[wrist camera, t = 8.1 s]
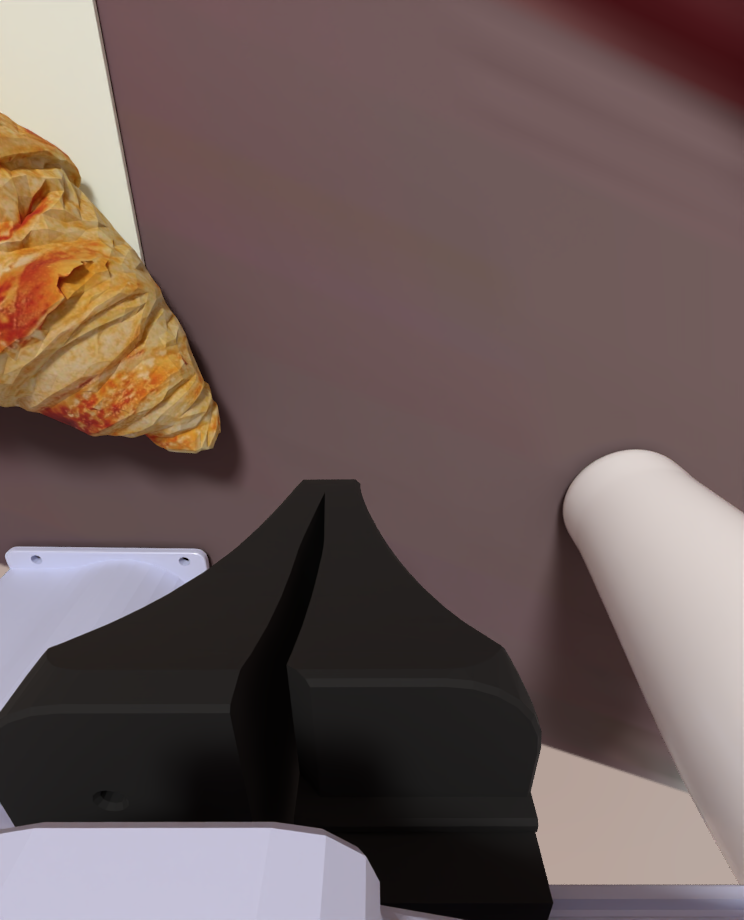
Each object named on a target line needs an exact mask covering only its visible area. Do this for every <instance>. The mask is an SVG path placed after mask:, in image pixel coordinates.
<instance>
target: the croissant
mask: <svg viewBox="0 0 744 920" xmlns="http://www.w3.org/2000/svg"><path fill="white" fill-rule="evenodd" d="M80 185H81V176H80V173H79V171H78V168H77V167H76V166H75V164H74V163H73V162H72V160H71V159H70V157H69V156H68V155H67V154H65V153H64V152H63V151H62V150H60V149H59V148H58V147H57V146H55V145H54V144H52V143H50V142H49V141H47V140H45V139H44V138H42V137H40V136H39V135H37V134H35V133H34V132H32V131H30V130H29V129H26V128H24V127H22V126H20V125H18V124H17V123H15V122H14V121H13V120H11V119H10V118H9V117H8V116H6V115H4V114H3V113H1V112H0V406H2V407H12V406H18V407H21V408H23V409H25V410H27V411H31V412H37V413H41V414H43V415H46V416H48V417H51V418H53V419H55V420H58V421H60V422H62V423H65V424H67V425H70V426H72V427H74V428H76V429H78V430H80V431H82V432H84V433H86V434H88V435H91V436H102V435H111V436H125V437H129V438H134V437H137V436H140V435H144V434H145V435H146V436H147V437H148V438H149V439H151V440H152V441H153V442H154V443H155V444H156V445H158V446H160V447H162V448H164V449H166V450H168V451H170V452H182V453H198V452H199V451H202V450H207V449H212V448H213V447H214V444H215V441H216V440H217V437H218V434H219V433H221V427H220V416H219V410H218V406H217V403H216V402H215V401H214V400H213V399H212V395H211V390H210V387H209V385H208V383H206V382H205V381H204V380H203V377H202V375H201V373H200V371H199V368H198V366H197V364H196V361H195V359H194V357H193V354H192V352H191V349H190V346H189V343H188V340H187V337H186V334H185V332H184V330H183V328H182V326H181V324H180V323H179V321H178V319H177V318H176V316H175V315H174V314H173V313H172V311H171V310H170V309H169V307H168V306H167V304H166V302H165V300H164V298H163V296H162V293H161V290H160V287H159V286H158V285H157V284H156V283H155V281H154V280H153V279H152V277H151V276H150V274H149V273H148V271H147V269H146V267H145V265H144V264H143V262H142V261H141V259H140V257H139V256H138V254H137V253H136V251H135V250H134V249H133V248H132V247H131V246H130V245H129V244H128V243H127V242H126V241H125V240H124V239H123V238H122V237H121V235H120V234H119V233H118V232H117V231H116V230H115V229H114V227H113V226H112V224H111V223H110V222H109V221H108V219H107V218H106V217H105V216H104V215H103V214H102V213H101V212H100V211H99V209H98V208H97V207H96V206H95V205H94V204H93V203H92V202H91V201H90V200H89V198H88V197H87V196H86V195H85V194H84V193H83V192H82V191H81V190H80V189H79V187H80Z"/></svg>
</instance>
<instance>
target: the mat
mask: <svg viewBox="0 0 744 920" xmlns="http://www.w3.org/2000/svg"><path fill="white" fill-rule="evenodd" d="M0 112H1V113H3V114H4V115H6V116H8V117H9V118H10V119H11V120H13V121H14V122H15V123H17V124H18V125H20V126H22V127H24V128H26V129H29V130H30V131H32V132H34V133H35V134H37V135H39V136H40V137H42V138H44V139H45V140H47V141H49V142H50V143H52V144H54V145H55V146H57V147H58V148H59V149H60V150H62V151H63V152H64V153H65V154H67V155H68V156H69V157H70V159H71V160H72V162H73V163H74V164H75V166H76V167H77V168H78V171H79V173H80V176H81V185H80V187H79V189H80V190H81V191H82V192H83V193H84V194H85V195H86V196H87V197H88V198H89V200H90V201H91V202H92V203H93V204H94V205H95V206H96V207H97V208H98V209H99V211H100V212H101V213H102V214H103V215H104V216H105V217H106V218H107V219H108V221H109V222H110V223H111V224H112V226H113V227H114V229H115V230H116V231H117V232H118V233H119V234H120V235H121V237H122V238H123V239H124V240H125V241H126V242H127V243H128V244H129V245H130V246H131V247H132V248H133V249H134V250H135V251H136V253H137V254H138V256H139V257H140V259H141V261H142V262H143V264H144V265H145V263H144V258H143V252H142V247H141V242H140V236H139V231H138V226H137V220H136V215H135V210H134V204H133V199H132V194H131V188H130V183H129V178H128V172H127V167H126V162H125V156H124V151H123V145H122V140H121V135H120V129H119V124H118V119H117V113H116V108H115V103H114V97H113V92H112V87H111V81H110V76H109V71H108V65H107V60H106V55H105V49H104V44H103V39H102V33H101V28H100V23H99V17H98V12H97V6H96V1H95V0H0Z"/></svg>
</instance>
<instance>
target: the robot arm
mask: <svg viewBox="0 0 744 920" xmlns="http://www.w3.org/2000/svg"><path fill="white" fill-rule="evenodd" d="M37 556H39V557H40V558H39V557H37ZM182 557H185V558H188V559H189V561H187V560H184V559H183V558H182ZM5 558H6V561H7V563H8V566H9V568H10V569H9V570H8V572H6V574H4V575H3V576H2V578H0V920H744V885H549V884H548V880H547V876H546V872H545V868H544V865H543V861H542V857H541V853H540V849H539V845H538V842H537V838H536V834H535V832H537V829H538V818H537V814H536V810H535V807H534V803H533V799H532V796H531V787H532V783H533V779H534V775H535V771H536V766H537V762H538V758H539V754H540V750H541V729H540V726H539V722H538V718H537V715H536V712H535V709H534V707H533V704H532V702H531V699H530V697H529V695H528V693H527V691H526V688H525V686H524V684H523V682H522V680H521V678H520V676H519V674H518V672H517V670H516V668H515V666H514V665H513V663H512V661H511V659H510V657H509V656H508V654H507V652H506V650H505V649H504V648H503V647H502V646H501V645H499V644H498V643H496V642H494V641H493V640H491V639H490V638H488V637H487V636H485V635H483V634H482V633H480V632H479V631H477V630H476V629H474V628H472V627H471V626H469V625H468V624H466V623H465V622H463V621H462V620H460V619H459V618H458V617H457V616H455V615H454V614H453V613H451V612H450V611H449V610H447V609H446V608H445V607H444V606H443V605H442V604H441V603H439V602H438V601H437V600H436V599H435V598H434V597H433V596H432V595H431V594H430V593H428V592H427V591H426V590H425V589H424V588H423V587H422V586H421V585H420V584H419V583H418V582H417V581H416V580H415V579H414V577H413V576H412V575H411V574H410V573H409V572H408V571H407V570H406V568H405V567H404V566H403V565H402V564H401V562H400V561H399V560H398V559H397V557H396V556H395V555H394V553H393V552H392V550H391V549H390V548H389V546H388V545H387V543H386V542H385V540H384V539H383V537H382V535H381V534H380V532H379V530H378V529H377V527H376V525H375V523H374V521H373V519H372V518H371V516H370V514H369V512H368V509H367V507H366V505H365V502H364V500H363V497H362V494H361V489H360V483H359V482H358V481H356V480H303V481H302V482H301V483H300V484H299V485H298V486H297V487H296V488H295V489H294V490H293V492H292V493H291V494H290V495H289V496H288V497H287V498H286V500H285V501H284V502H283V503H282V504H281V505H280V506H279V507H278V508H277V509H276V510H275V511H274V512H273V514H272V515H271V516H270V517H269V518H268V519H267V520H266V521H265V522H264V523H263V524H262V525H261V526H260V527H259V528H258V529H257V530H256V531H254V532H253V533H252V534H251V535H250V536H249V537H248V538H247V539H246V540H245V541H244V542H242V543H241V544H240V545H239V546H238V547H237V548H236V549H234V550H233V551H232V552H230V553H229V554H228V555H227V556H225V557H224V558H223V559H221V560H220V561H218V562H217V563H216V564H214V565H213V566H212V567H210V568H209V562H208V557H207V554H206V553H205V552H204V551H202V550H200V549H182V548H97V547H13V548H11V549H10V550H9V551H8V552H7V553H6V555H5Z"/></svg>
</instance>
